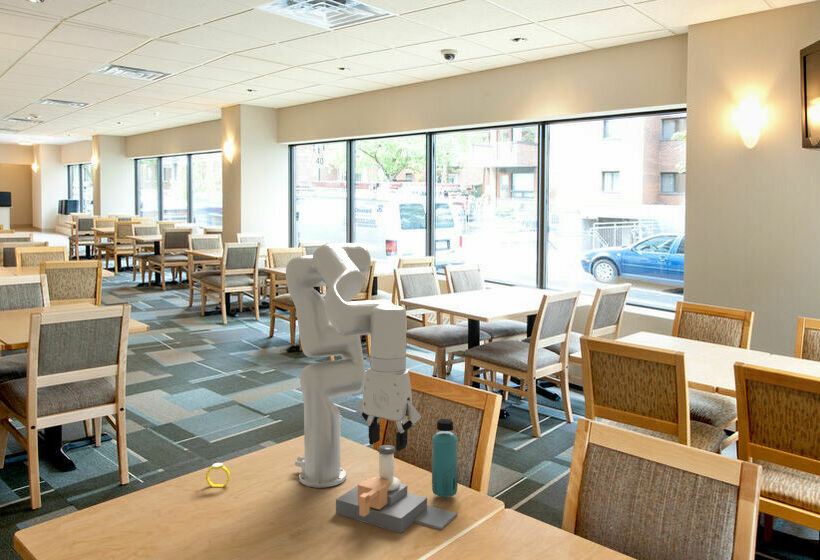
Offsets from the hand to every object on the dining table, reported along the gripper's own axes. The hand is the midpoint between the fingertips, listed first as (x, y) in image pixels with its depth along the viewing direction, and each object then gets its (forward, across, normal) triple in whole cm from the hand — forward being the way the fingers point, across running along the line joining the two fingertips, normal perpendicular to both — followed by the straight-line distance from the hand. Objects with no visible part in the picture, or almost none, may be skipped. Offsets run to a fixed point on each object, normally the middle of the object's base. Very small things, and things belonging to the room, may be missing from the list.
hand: (387, 445), depth 137 cm
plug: (+18, -8, +12) cm, 23 cm away
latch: (+18, -8, +5) cm, 20 cm away
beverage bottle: (+22, +1, +25) cm, 33 cm away
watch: (+22, -52, 0) cm, 56 cm away
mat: (+22, +4, +14) cm, 26 cm away
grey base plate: (+22, -8, +10) cm, 25 cm away
